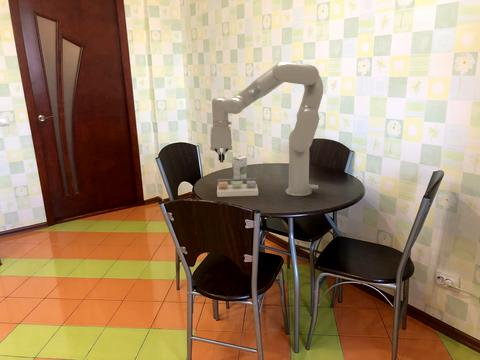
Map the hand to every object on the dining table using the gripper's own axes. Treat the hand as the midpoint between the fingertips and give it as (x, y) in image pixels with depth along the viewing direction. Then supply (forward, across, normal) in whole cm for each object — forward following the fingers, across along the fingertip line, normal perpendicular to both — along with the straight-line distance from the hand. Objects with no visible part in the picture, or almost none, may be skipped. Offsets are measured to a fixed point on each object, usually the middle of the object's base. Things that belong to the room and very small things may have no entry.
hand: (221, 161), depth 184 cm
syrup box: (+16, -9, -18) cm, 26 cm away
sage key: (+12, -7, 0) cm, 14 cm away
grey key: (+12, -14, 0) cm, 19 cm away
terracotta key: (+12, 0, 0) cm, 12 cm away
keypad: (+16, -7, 0) cm, 18 cm away
